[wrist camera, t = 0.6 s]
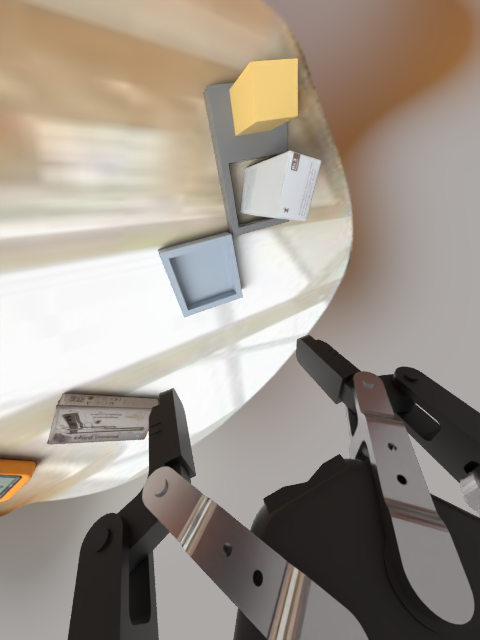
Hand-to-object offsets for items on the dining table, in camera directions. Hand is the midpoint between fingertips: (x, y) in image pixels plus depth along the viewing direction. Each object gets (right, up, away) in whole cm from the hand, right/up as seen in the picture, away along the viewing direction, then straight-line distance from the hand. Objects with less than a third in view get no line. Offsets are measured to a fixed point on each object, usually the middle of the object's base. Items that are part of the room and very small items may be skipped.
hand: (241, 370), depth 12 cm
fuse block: (+2, +24, +18) cm, 30 cm away
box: (-28, -16, +30) cm, 44 cm away
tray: (-6, +11, +22) cm, 26 cm away
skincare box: (+2, +23, +19) cm, 30 cm away
